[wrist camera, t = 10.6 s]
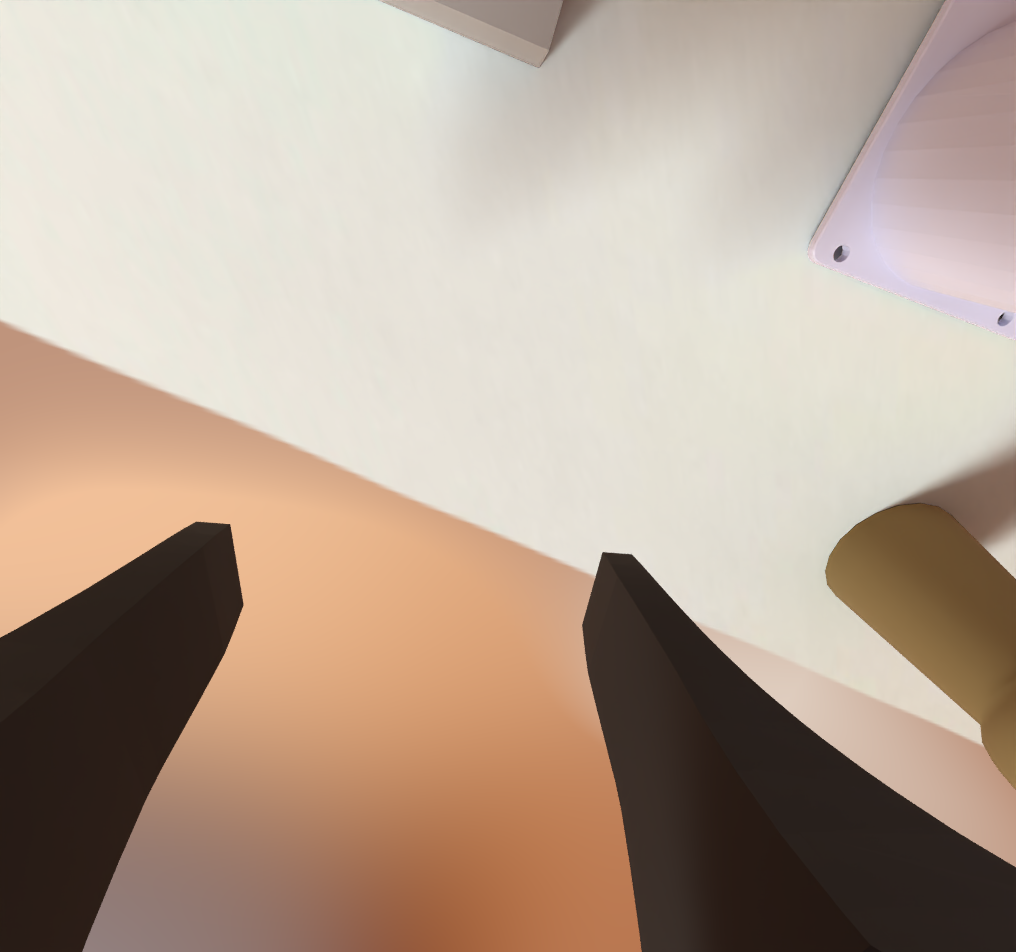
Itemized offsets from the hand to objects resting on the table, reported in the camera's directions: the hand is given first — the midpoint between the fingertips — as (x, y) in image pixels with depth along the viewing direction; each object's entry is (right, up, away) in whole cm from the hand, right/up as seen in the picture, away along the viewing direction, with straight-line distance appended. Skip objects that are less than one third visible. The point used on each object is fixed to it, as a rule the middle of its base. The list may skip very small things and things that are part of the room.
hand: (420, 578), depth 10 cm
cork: (+20, -2, +14) cm, 25 cm away
